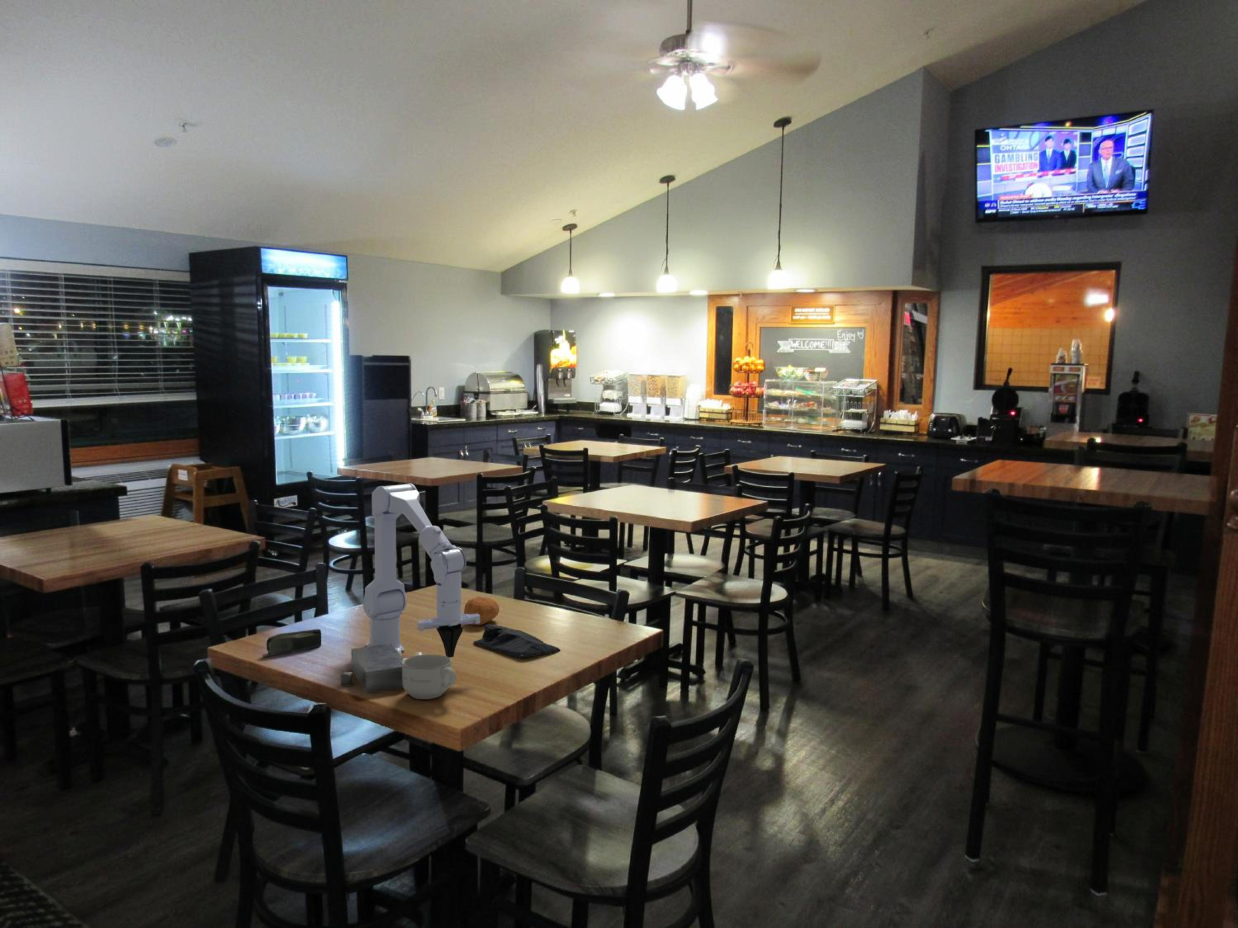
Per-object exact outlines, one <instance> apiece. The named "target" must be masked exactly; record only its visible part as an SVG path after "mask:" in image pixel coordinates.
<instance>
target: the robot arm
mask: <svg viewBox="0 0 1238 928" xmlns="http://www.w3.org/2000/svg"><path fill="white" fill-rule="evenodd" d="M420 500H421V499H420V492H419V491H418V489H417V487H416V486H415V485H414V484H413V483H411V482H409V483H405V484H395V485H385V486H384V485H380V486H377V487H376V488H375V489H374V490H372V492H371V515H372V516H373V517H374V579H373V580H372V581H371V582H370V583H368V585H366V586H365V588H364V591H365V592H364V597H363V598H362V599H363V600H362V607H363V608H362V609H363V611H364V613H365V614H366V616H367V617H368V618H370V620H369V642H368V643H365V647H369V646H377V645H384V644H392V645H393V647H394V648H400V649H401V652H404V651H405V648H404V647H403V645H402V644H401V621H400V620H401V619H400V618H401V617H400V616H401V615H403V611H404V610H405V609H406V607H407V604H408V603H407V601H408V599H407V598H408V597H407V594H406V590H405V584H404V583H402V582H401V581H400V580H399V579H397V526H396V525H397V524H396V523H397V519H398V518H399V517H400V516H401V515H404V517H405V518H406V519H407V520H408V521H409V522H410V523H411V525H412V526H413V528H415V530H416V531H417V532H418V533H419V536H418V542H419V543H420V545H421V547H423V549H424V550H425V552H426V554H427V555H428V557H429V558H430V559H431V561H430V568H431V570H432V573H433V579H434V582H435V583H436V616H435V617H432V618H427V619H426V618H425V619H424V620H423V619H422V620H417V630H418V631H419V632H423V631H425V630H426V631H427V630H430V629H431V630H432V629H436V631H437V633H438V635H439V636H440V639H441V642H442V645H443V649H444V652H445V656H446V657H449V658H450V659H451V658H453V657H454V656H455V650H456V647H457V644H458V641H459V640H460V637H461V635H462V633H463V632H464V631H463V630H464V629H463V625H465V626H466V625H470V624H471V625H472V623H475V624H479V623H480V615H478V614H464V613H462V572H463V571H464V570H465V569H466V566H467V558H466V554H465V552H464V551H463V549H462V548H460V547H457V546H456V545H455V544H452V543H451V542H450V541H449V539H448V537H447V536H446V535H445V534H444V532H443V531H442V529H441V528H440V526H437V525H433V524H432V523H431V521H430V519H429V518H428V516H427V514H426V513H425V511H424V508H423V507H422V506H421V503H420ZM454 658H455V657H454Z"/></svg>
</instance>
